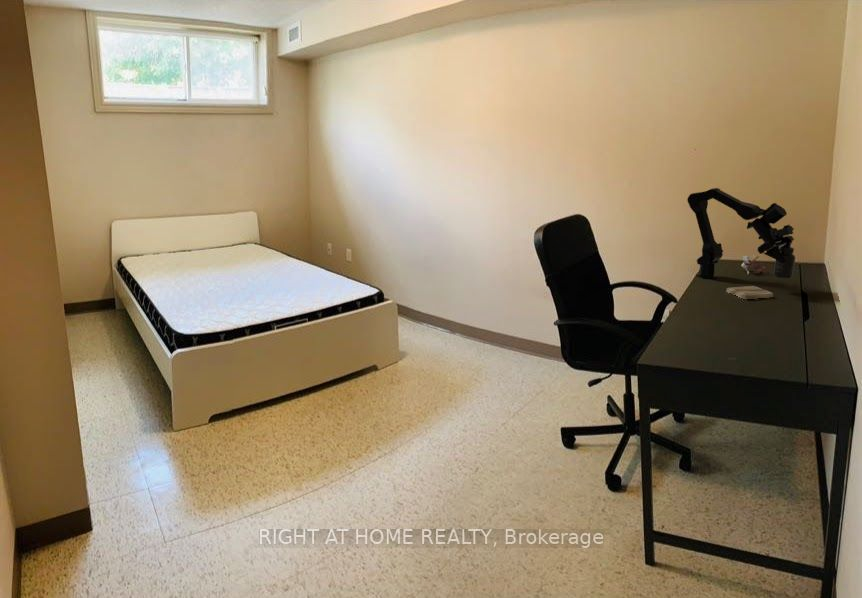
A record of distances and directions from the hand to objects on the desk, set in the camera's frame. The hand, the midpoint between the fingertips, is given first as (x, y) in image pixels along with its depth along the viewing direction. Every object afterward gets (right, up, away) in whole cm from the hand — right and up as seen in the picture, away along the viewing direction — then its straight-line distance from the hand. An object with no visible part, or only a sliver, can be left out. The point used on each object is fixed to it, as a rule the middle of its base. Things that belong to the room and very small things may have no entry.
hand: (788, 261), depth 242 cm
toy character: (+4, -3, +36) cm, 36 cm away
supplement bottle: (-1, -6, +3) cm, 7 cm away
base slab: (-15, -14, +2) cm, 21 cm away
